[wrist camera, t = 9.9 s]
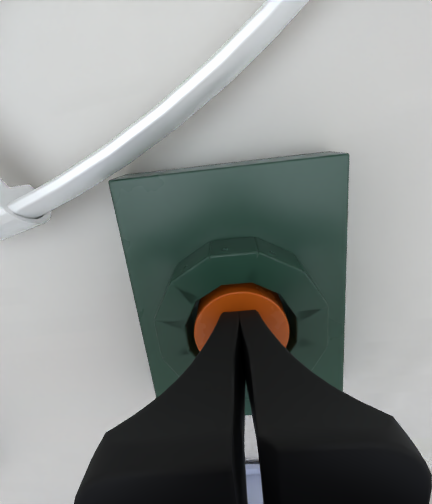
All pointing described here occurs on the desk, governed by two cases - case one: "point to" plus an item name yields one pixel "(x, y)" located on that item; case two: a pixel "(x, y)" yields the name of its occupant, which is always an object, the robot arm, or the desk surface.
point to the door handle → (147, 123)
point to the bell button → (240, 300)
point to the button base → (238, 252)
